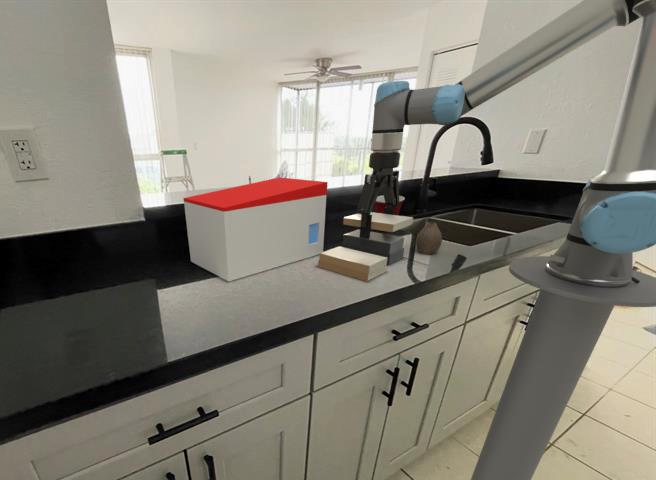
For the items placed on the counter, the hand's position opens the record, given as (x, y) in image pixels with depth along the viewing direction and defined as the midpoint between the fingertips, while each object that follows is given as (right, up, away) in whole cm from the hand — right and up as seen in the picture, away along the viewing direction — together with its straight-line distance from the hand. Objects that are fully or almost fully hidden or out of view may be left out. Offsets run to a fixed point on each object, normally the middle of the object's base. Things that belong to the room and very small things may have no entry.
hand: (375, 233), depth 97 cm
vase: (+17, -5, +5) cm, 18 cm away
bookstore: (-34, -6, +5) cm, 35 cm away
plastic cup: (+14, +7, +30) cm, 34 cm away
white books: (-9, -11, -7) cm, 16 cm away
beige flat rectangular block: (0, +3, -1) cm, 3 cm away
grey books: (0, -6, +3) cm, 7 cm away
